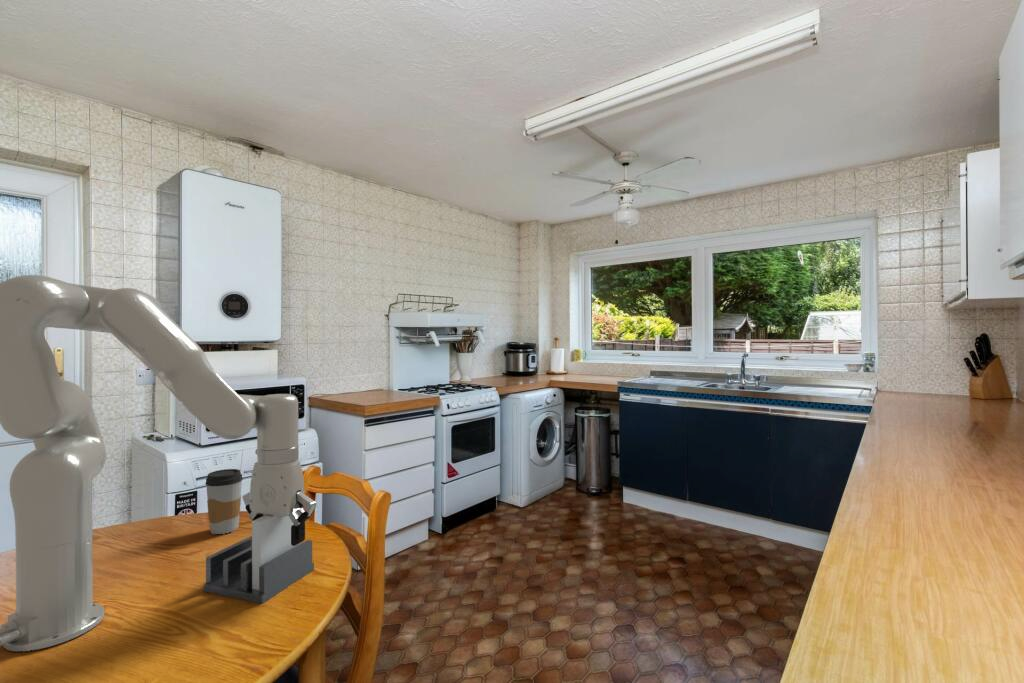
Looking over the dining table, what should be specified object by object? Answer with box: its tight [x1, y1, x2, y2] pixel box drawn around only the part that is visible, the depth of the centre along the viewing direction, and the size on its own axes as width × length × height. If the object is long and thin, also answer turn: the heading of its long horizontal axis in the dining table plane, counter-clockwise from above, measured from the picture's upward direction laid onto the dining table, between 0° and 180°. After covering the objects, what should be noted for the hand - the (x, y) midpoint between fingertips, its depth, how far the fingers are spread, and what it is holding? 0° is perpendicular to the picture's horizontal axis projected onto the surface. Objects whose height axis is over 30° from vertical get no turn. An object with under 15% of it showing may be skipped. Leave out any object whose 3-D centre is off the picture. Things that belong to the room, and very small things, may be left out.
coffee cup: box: [205, 468, 244, 535], centre depth 126 cm, size 8×8×15 cm
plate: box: [251, 512, 302, 590], centre depth 98 cm, size 11×2×13 cm, turn 163°
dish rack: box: [203, 535, 315, 604], centre depth 99 cm, size 14×14×6 cm
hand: (278, 540), depth 98 cm, fingers open, 9 cm apart
